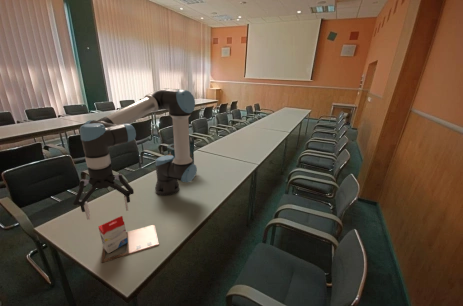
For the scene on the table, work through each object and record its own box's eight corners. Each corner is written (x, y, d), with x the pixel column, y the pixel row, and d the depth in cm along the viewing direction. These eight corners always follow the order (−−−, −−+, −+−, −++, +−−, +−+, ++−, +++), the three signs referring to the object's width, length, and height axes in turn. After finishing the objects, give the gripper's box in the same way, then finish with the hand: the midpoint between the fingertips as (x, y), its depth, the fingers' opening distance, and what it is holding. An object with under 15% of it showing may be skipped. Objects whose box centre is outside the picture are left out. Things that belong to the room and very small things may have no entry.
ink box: (123, 237, 94) (118, 210, 89) (128, 242, 91) (123, 215, 86) (102, 248, 88) (96, 220, 83) (107, 254, 85) (101, 225, 80)
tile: (154, 225, 103) (154, 224, 103) (159, 244, 92) (158, 243, 91) (128, 232, 98) (127, 231, 98) (129, 254, 86) (129, 252, 86)
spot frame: (128, 232, 98) (127, 231, 98) (129, 254, 86) (129, 253, 86) (103, 239, 93) (103, 238, 93) (101, 262, 82) (101, 261, 82)
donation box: (194, 171, 164) (193, 137, 155) (177, 177, 153) (175, 141, 143) (182, 165, 174) (181, 133, 165) (165, 170, 163) (163, 136, 153)
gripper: (135, 157, 85) (140, 201, 92) (59, 166, 74) (72, 215, 81) (136, 164, 79) (142, 210, 86) (54, 175, 68) (68, 227, 75)
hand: (108, 213), depth 84 cm, fingers open, 13 cm apart
